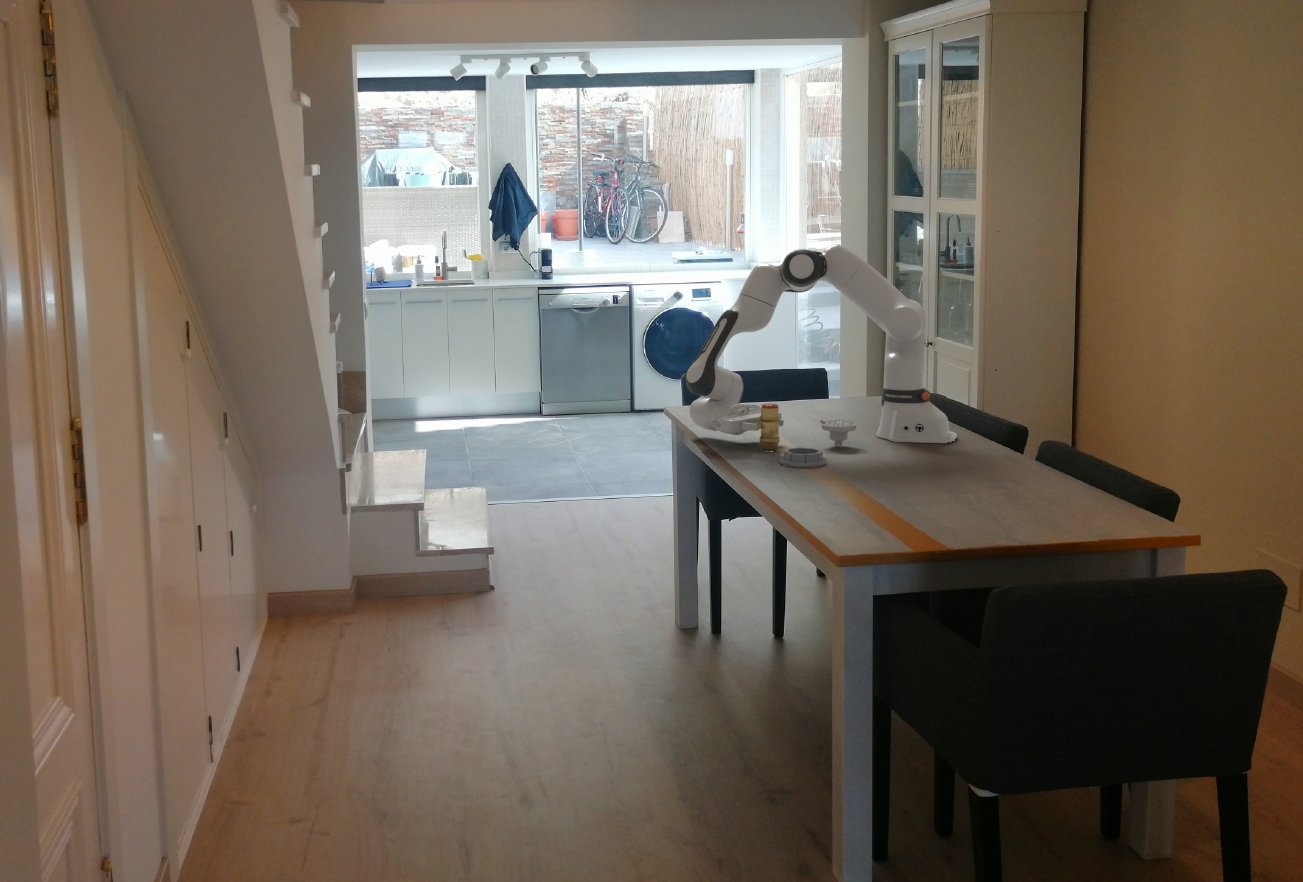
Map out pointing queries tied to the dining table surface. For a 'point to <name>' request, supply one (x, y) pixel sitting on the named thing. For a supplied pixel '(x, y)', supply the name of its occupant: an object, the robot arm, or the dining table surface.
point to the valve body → (769, 427)
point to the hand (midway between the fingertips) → (769, 425)
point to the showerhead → (838, 430)
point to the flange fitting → (803, 457)
